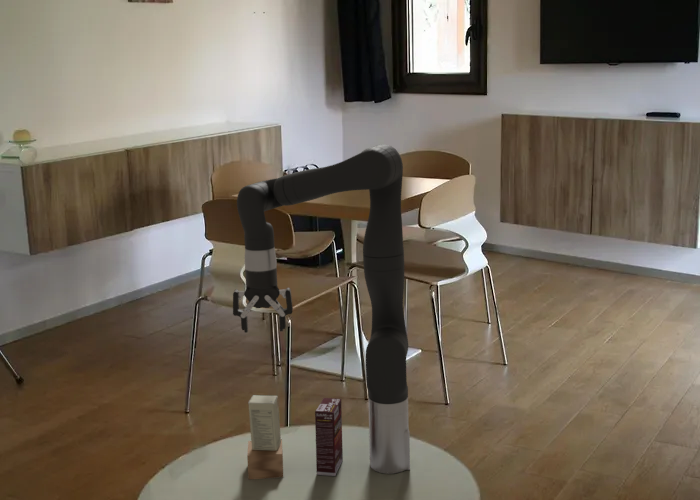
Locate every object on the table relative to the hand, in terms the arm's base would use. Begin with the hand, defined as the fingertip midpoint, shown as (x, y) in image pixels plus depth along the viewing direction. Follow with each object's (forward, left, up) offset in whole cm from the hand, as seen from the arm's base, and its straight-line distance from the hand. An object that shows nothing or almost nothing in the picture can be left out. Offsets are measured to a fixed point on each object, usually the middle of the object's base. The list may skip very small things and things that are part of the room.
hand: (264, 331), depth 212 cm
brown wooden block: (0, +13, -30) cm, 33 cm away
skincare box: (0, +13, -24) cm, 27 cm away
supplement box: (-15, +13, -30) cm, 36 cm away
